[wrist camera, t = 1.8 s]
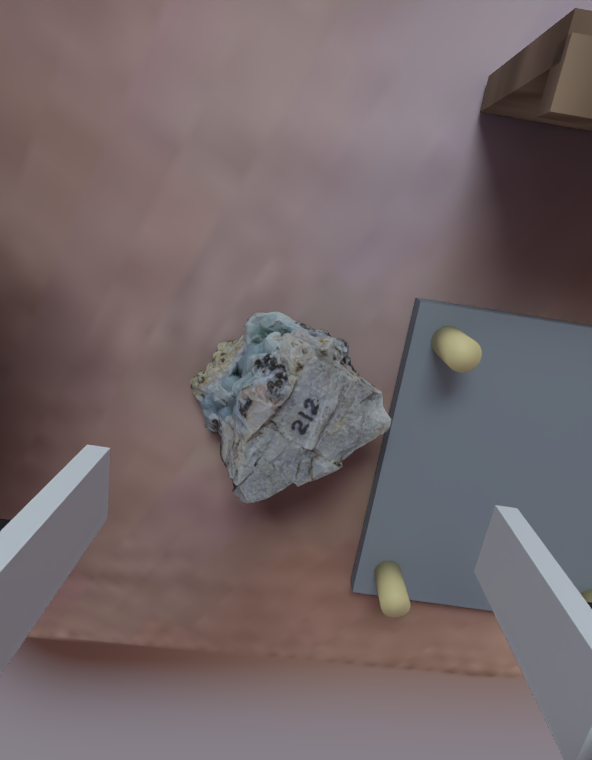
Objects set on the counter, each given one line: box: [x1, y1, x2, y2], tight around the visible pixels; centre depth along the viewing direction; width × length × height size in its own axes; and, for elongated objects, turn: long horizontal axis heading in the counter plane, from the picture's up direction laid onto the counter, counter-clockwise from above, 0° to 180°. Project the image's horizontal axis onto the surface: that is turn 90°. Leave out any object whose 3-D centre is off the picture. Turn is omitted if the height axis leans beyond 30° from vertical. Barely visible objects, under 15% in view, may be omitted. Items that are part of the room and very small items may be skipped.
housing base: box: [351, 298, 592, 618], centre depth 29 cm, size 18×20×4 cm
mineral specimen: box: [190, 312, 391, 504], centre depth 27 cm, size 10×8×10 cm
